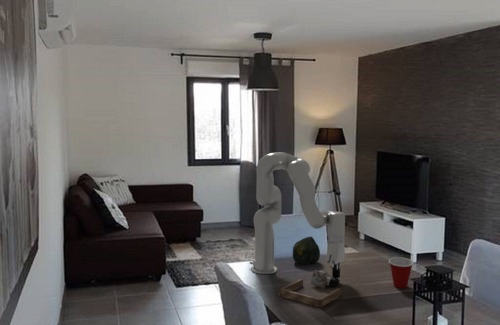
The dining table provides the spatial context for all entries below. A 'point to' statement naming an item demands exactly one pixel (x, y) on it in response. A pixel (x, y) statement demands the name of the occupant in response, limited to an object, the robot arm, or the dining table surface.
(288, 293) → the walnut bay
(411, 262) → the plastic cup
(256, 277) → the dining table surface
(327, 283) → the caster wheel
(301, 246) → the squash
